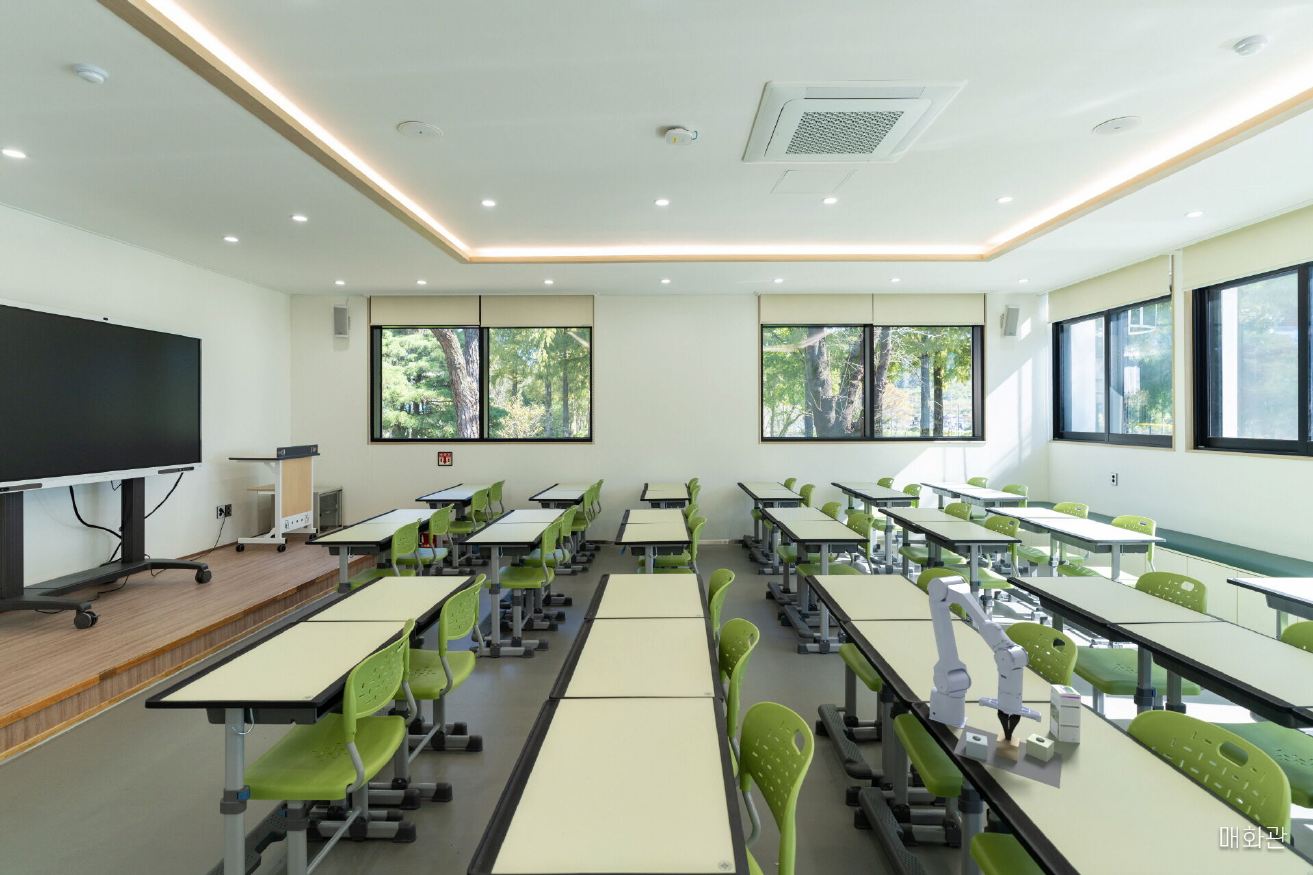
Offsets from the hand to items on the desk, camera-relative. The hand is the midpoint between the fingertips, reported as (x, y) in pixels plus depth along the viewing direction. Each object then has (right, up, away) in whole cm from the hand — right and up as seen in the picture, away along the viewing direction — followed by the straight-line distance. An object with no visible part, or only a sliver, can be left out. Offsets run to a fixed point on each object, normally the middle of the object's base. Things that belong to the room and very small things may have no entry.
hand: (1008, 738), depth 157 cm
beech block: (0, -4, 0) cm, 4 cm away
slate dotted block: (-9, -4, 0) cm, 10 cm away
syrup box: (+22, -5, +9) cm, 24 cm away
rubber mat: (0, -5, 0) cm, 5 cm away
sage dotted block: (+9, -4, 0) cm, 10 cm away
